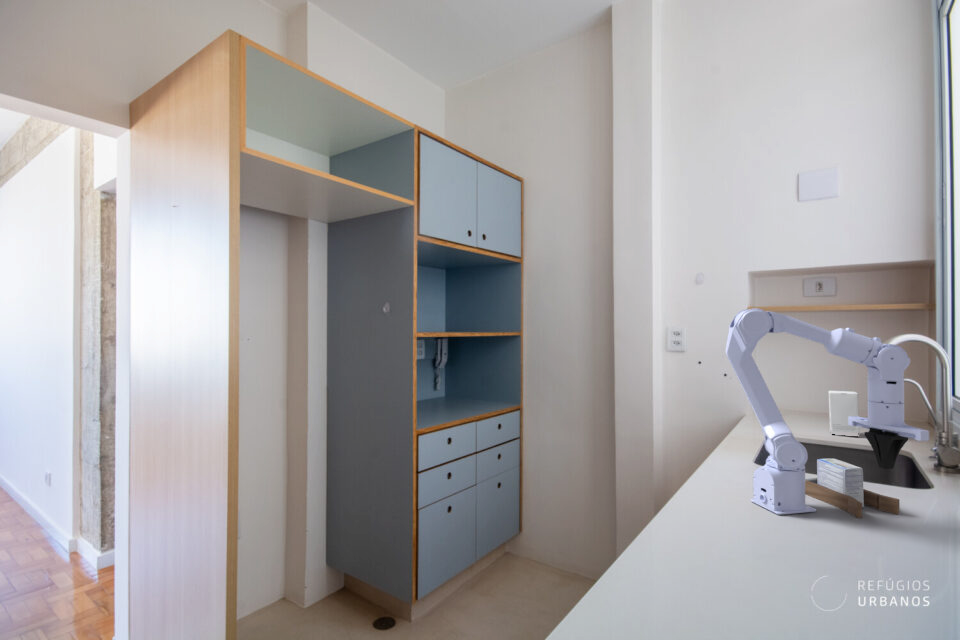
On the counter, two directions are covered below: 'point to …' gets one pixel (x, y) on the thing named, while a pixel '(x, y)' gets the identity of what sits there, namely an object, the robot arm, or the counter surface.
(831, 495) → the guide channel
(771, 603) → the counter surface
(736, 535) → the counter surface
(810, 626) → the counter surface
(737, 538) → the counter surface
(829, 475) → the medicine box
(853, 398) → the skincare box
